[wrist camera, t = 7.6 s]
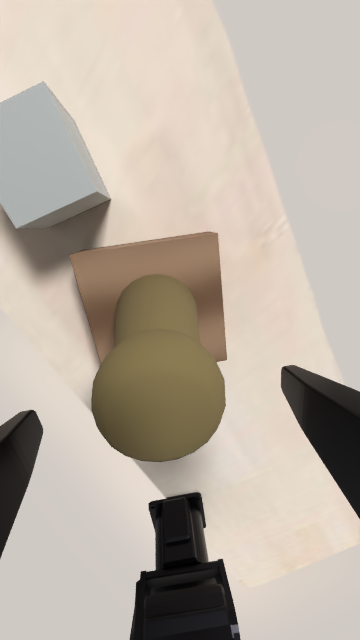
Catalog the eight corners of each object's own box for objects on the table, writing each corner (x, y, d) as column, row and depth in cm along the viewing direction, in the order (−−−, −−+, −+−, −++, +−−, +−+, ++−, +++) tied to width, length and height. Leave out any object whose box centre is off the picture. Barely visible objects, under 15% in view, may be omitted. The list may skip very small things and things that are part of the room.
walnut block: (218, 343, 23) (226, 360, 21) (111, 361, 23) (106, 380, 20) (208, 231, 20) (217, 233, 17) (81, 250, 19) (69, 255, 16)
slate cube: (111, 199, 18) (96, 191, 14) (50, 227, 19) (16, 228, 14) (74, 121, 16) (43, 81, 12) (7, 153, 17) (-49, 126, 12)
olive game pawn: (132, 359, 20) (108, 506, 10) (102, 287, 17) (31, 380, 7) (205, 338, 20) (260, 462, 9) (185, 263, 17) (230, 322, 7)
